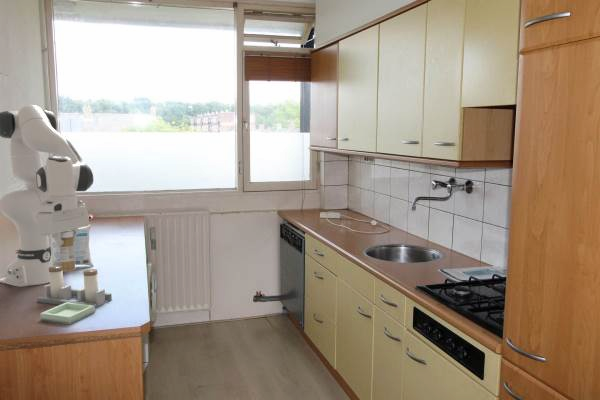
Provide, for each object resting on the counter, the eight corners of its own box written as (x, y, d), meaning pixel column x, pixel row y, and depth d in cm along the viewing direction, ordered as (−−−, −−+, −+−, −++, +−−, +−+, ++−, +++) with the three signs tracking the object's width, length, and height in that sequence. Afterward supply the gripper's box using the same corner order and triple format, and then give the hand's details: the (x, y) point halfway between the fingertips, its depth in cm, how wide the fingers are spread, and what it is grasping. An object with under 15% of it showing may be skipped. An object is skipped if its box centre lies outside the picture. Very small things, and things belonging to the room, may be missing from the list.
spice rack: (37, 301, 197) (36, 288, 196) (58, 293, 207) (57, 280, 206) (92, 308, 189) (91, 295, 188) (111, 299, 198) (111, 287, 198)
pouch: (92, 268, 243) (89, 225, 240) (47, 271, 239) (44, 227, 236) (94, 264, 251) (92, 222, 248) (51, 266, 247) (48, 224, 244)
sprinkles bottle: (71, 268, 186) (68, 230, 184) (78, 269, 183) (75, 231, 182) (58, 270, 182) (55, 232, 181) (65, 272, 179) (62, 232, 178)
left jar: (47, 299, 199) (45, 268, 197) (57, 296, 203) (55, 265, 202) (57, 301, 197) (55, 269, 196) (67, 297, 202) (65, 266, 200)
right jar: (82, 304, 194) (80, 272, 192) (91, 300, 198) (89, 268, 196) (92, 305, 192) (91, 273, 190) (101, 301, 196) (100, 269, 195)
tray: (41, 320, 178) (40, 313, 177) (67, 308, 189) (67, 302, 188) (69, 324, 174) (69, 317, 173) (94, 312, 185) (94, 305, 185)
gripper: (77, 200, 191) (80, 237, 192) (32, 207, 171) (36, 249, 173) (91, 200, 189) (94, 238, 190) (47, 208, 169) (51, 250, 171)
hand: (66, 243), depth 182 cm, fingers closed on sprinkles bottle, 4 cm apart
